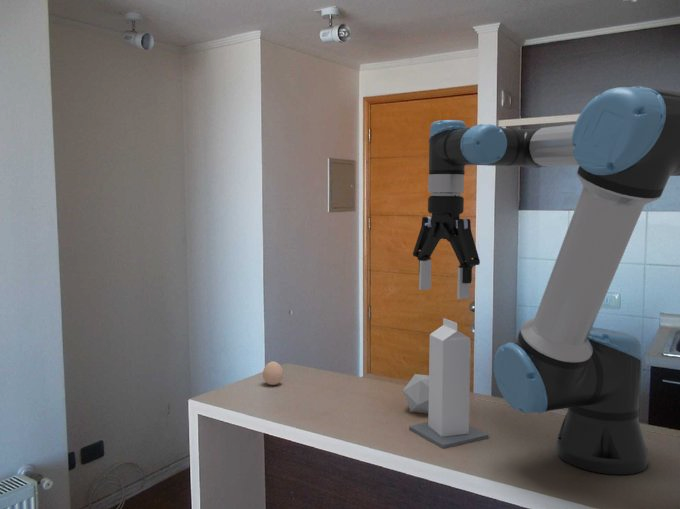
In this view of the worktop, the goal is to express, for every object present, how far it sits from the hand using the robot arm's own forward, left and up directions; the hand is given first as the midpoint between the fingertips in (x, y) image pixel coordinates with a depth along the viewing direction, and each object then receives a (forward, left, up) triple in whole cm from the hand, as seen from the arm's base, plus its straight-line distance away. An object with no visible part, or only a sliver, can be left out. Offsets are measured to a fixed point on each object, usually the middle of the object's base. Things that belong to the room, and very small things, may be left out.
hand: (443, 294), depth 132 cm
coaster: (-11, +7, -26) cm, 29 cm away
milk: (-11, +7, -26) cm, 29 cm away
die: (+2, +3, -26) cm, 26 cm away
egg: (+36, +25, -26) cm, 51 cm away
